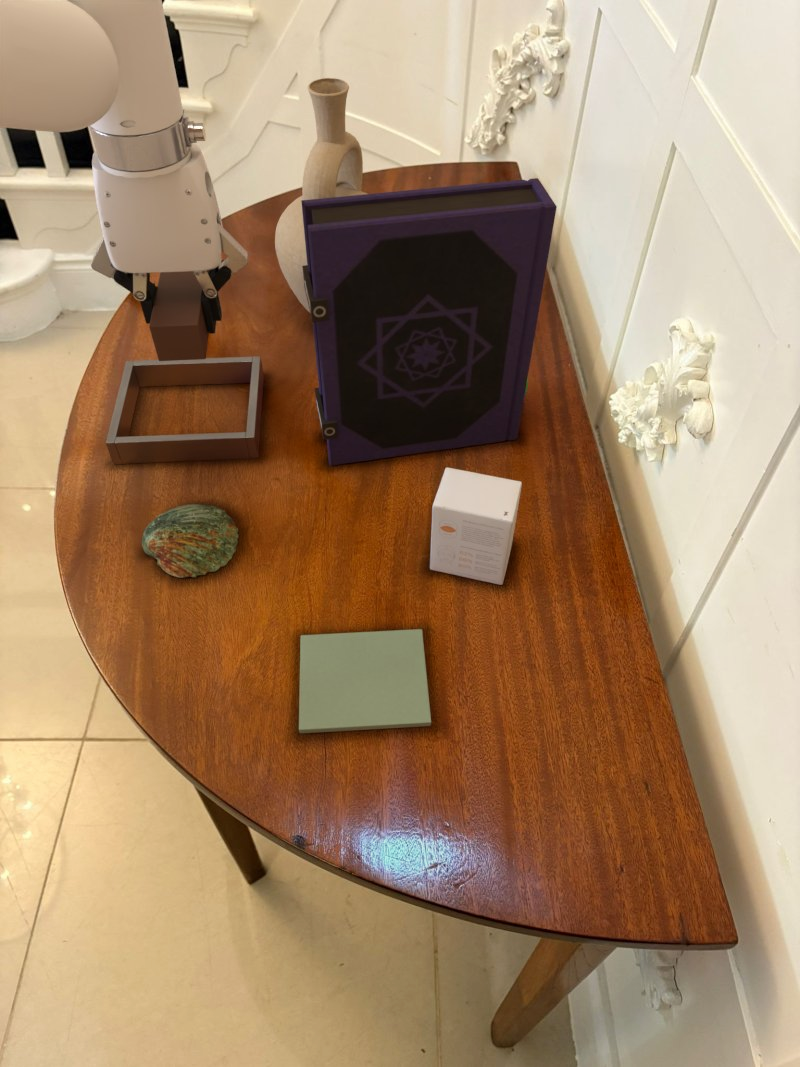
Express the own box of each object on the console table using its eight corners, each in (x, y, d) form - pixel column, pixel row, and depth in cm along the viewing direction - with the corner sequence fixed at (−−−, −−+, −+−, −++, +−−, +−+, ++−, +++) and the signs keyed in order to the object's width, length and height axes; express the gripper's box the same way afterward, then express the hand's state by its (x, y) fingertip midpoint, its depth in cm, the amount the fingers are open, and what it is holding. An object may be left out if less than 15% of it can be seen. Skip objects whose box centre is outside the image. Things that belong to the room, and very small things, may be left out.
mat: (299, 733, 70) (298, 729, 70) (301, 639, 77) (300, 635, 76) (430, 726, 71) (431, 722, 70) (421, 633, 77) (422, 628, 77)
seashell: (234, 545, 79) (133, 559, 78) (241, 571, 82) (143, 585, 81) (231, 479, 86) (138, 492, 84) (237, 506, 89) (148, 518, 87)
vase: (381, 354, 105) (378, 124, 82) (266, 334, 108) (232, 106, 85) (412, 287, 115) (417, 65, 92) (306, 270, 118) (285, 51, 95)
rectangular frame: (113, 464, 92) (105, 443, 89) (133, 382, 101) (126, 360, 99) (258, 458, 93) (254, 437, 90) (264, 377, 102) (260, 356, 99)
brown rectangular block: (158, 361, 75) (148, 326, 72) (169, 301, 81) (161, 267, 78) (205, 359, 75) (197, 324, 72) (213, 299, 81) (206, 265, 78)
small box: (512, 547, 84) (524, 480, 76) (502, 587, 81) (514, 522, 73) (440, 531, 86) (445, 464, 77) (427, 570, 82) (431, 504, 74)
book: (503, 409, 98) (537, 175, 75) (517, 442, 95) (558, 207, 71) (319, 433, 95) (295, 197, 72) (326, 470, 91) (304, 232, 68)
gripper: (247, 117, 67) (272, 301, 81) (45, 122, 66) (106, 308, 80) (243, 158, 62) (270, 346, 76) (26, 163, 61) (94, 353, 75)
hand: (186, 324), depth 78 cm, fingers closed on brown rectangular block, 4 cm apart
